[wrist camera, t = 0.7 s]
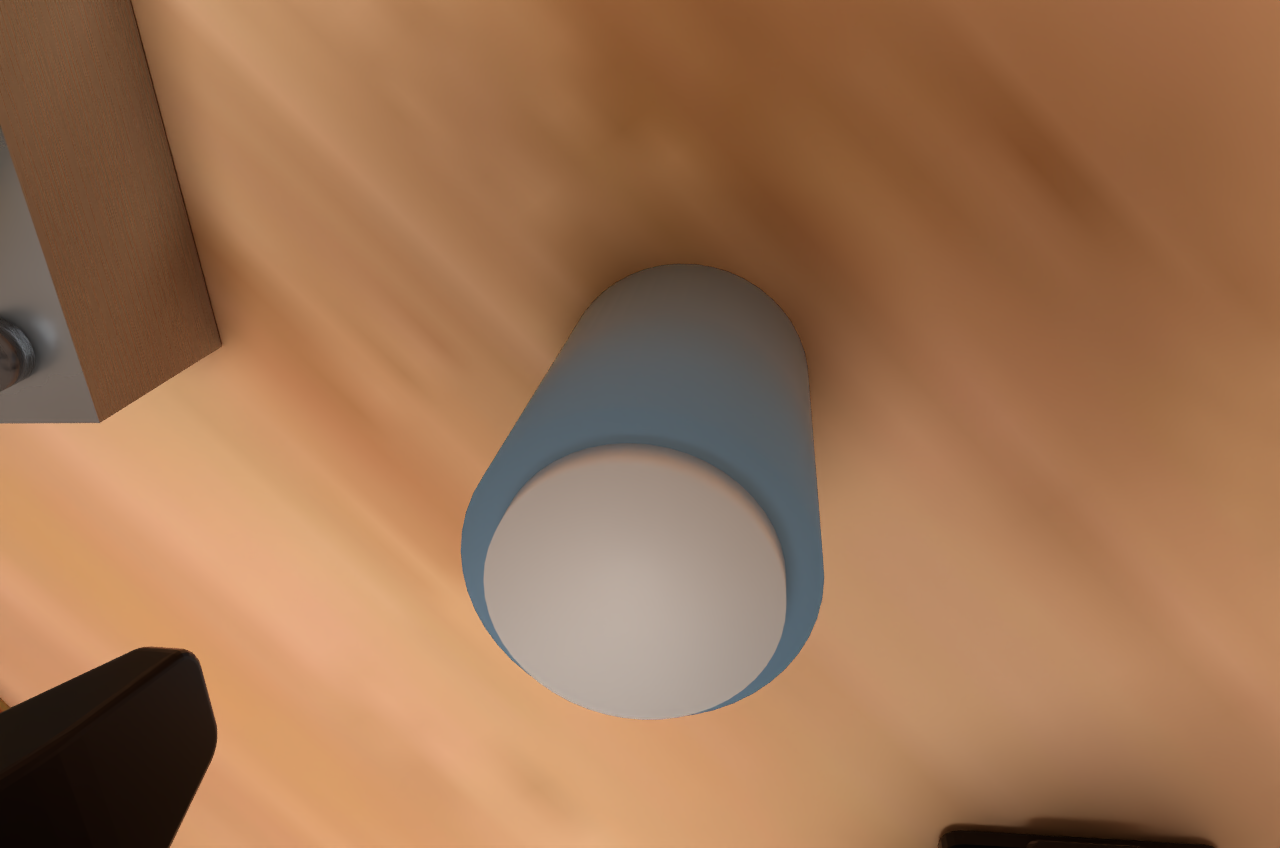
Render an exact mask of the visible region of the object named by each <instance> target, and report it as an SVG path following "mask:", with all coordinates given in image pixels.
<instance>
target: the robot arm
mask: <svg viewBox="0 0 1280 848" xmlns="http://www.w3.org/2000/svg"><path fill="white" fill-rule="evenodd" d="M216 743H217V725H216V721H215V717H214V713H213V709H212V706H211V702H210V698H209V695H208V691H207V687H206V683H205V680H204V676H203V672H202V668H201V665H200V662H199V660H198V659H197V657H196V656H195V655H194V654H193V653H192V652H190V651H188V650H185V649H177V648H163V647H142V648H138V649H135V650H133V651H131V652H129V653H127V654H124V655H122V656H120V657H118V658H116V659H114V660H112V661H110V662H107V663H105V664H103V665H101V666H99V667H97V668H95V669H92V670H90V671H88V672H86V673H84V674H82V675H80V676H78V677H75V678H73V679H71V680H69V681H67V682H65V683H63V684H61V685H58V686H56V687H54V688H52V689H50V690H48V691H46V692H43V693H41V694H39V695H37V696H35V697H33V698H31V699H29V700H26V701H24V702H22V703H20V704H18V705H16V706H14V707H11V708H9V709H7V710H5V711H3V712H1V713H0V848H170V846H171V844H172V842H173V840H174V838H175V836H176V833H177V831H178V829H179V827H180V825H181V823H182V821H183V819H184V817H185V815H186V813H187V811H188V808H189V806H190V804H191V802H192V800H193V798H194V796H195V794H196V792H197V790H198V788H199V786H200V784H201V781H202V779H203V777H204V775H205V773H206V771H207V769H208V767H209V765H210V763H211V760H212V758H213V755H214V752H215V748H216ZM938 848H1214V847H1212V846H1207V845H1197V844H1180V843H1163V842H1146V841H1129V840H1112V839H1095V838H1078V837H1061V836H1043V835H1026V834H1009V833H992V832H975V831H952V832H950V833H947V834H945V835H944V836H943V837H942V838H941V839H940V841H939V844H938Z"/></svg>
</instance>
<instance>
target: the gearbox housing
mask: <svg viewBox="0 0 1280 848" xmlns="http://www.w3.org/2000/svg"><path fill="white" fill-rule="evenodd" d="M220 347H221V342H220V339H219V335H218V331H217V327H216V324H215V320H214V316H213V312H212V308H211V305H210V301H209V297H208V293H207V290H206V286H205V282H204V278H203V274H202V271H201V267H200V263H199V259H198V256H197V252H196V248H195V244H194V241H193V237H192V233H191V229H190V225H189V222H188V218H187V214H186V210H185V207H184V203H183V199H182V195H181V192H180V188H179V184H178V180H177V176H176V173H175V169H174V165H173V161H172V158H171V154H170V150H169V146H168V143H167V139H166V135H165V131H164V127H163V124H162V120H161V116H160V112H159V109H158V105H157V101H156V97H155V93H154V90H153V86H152V82H151V78H150V75H149V71H148V67H147V63H146V60H145V56H144V52H143V48H142V44H141V41H140V37H139V33H138V29H137V26H136V22H135V18H134V14H133V11H132V7H131V3H130V0H0V423H100V422H102V421H103V420H105V419H107V418H108V417H110V416H111V415H113V414H115V413H116V412H118V411H119V410H121V409H123V408H124V407H126V406H127V405H129V404H131V403H132V402H134V401H135V400H137V399H139V398H140V397H142V396H143V395H145V394H146V393H148V392H150V391H151V390H153V389H154V388H156V387H158V386H159V385H161V384H162V383H164V382H166V381H167V380H169V379H170V378H172V377H174V376H175V375H177V374H178V373H180V372H182V371H183V370H185V369H186V368H188V367H189V366H191V365H193V364H194V363H196V362H197V361H199V360H201V359H202V358H204V357H205V356H207V355H209V354H210V353H212V352H213V351H215V350H217V349H218V348H220Z"/></svg>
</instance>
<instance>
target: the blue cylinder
mask: <svg viewBox="0 0 1280 848" xmlns="http://www.w3.org/2000/svg"><path fill="white" fill-rule="evenodd" d="M461 558H462V568H463V574H464V578H465V582H466V587H467V591H468V593H469V596H470V598H471V601H472V603H473V606H474V608H475V611H476V612H477V614H478V616H479V618H480V620H481V621H482V623H483V625H484V627H485V628H486V630H487V631H488V632H489V634H490V635H491V636H492V638H493V639H494V641H495V642H496V643H497V645H498V646H499V647H500V648H501V649H502V650H503V651H504V652H505V653H506V654H507V655H508V656H509V658H510V659H511V660H512V661H514V662H515V663H516V664H517V665H518V666H519V667H521V668H522V669H523V670H524V671H525V672H526V673H528V674H529V675H530V676H532V677H533V678H534V679H535V680H537V681H538V682H539V683H540V684H542V685H543V686H545V687H546V688H548V689H549V690H551V691H552V692H553V693H555V694H557V695H559V696H561V697H563V698H564V699H566V700H568V701H570V702H572V703H575V704H577V705H579V706H582V707H584V708H587V709H590V710H593V711H596V712H599V713H603V714H607V715H612V716H617V717H622V718H631V719H641V720H651V719H668V718H677V717H682V716H687V715H694V714H699V713H703V712H708V711H712V710H715V709H718V708H721V707H724V706H727V705H730V704H733V703H735V702H737V701H739V700H741V699H743V698H745V697H747V696H749V695H751V694H753V693H755V692H756V691H758V690H759V689H761V688H762V687H764V686H765V685H767V684H768V683H770V682H771V681H772V680H773V679H774V678H775V677H777V676H778V675H779V674H780V673H781V672H782V671H783V670H785V669H786V667H787V666H788V665H789V664H790V663H791V662H792V660H793V659H794V658H795V657H796V656H797V655H798V653H799V652H800V650H801V649H802V647H803V646H804V644H805V642H806V641H807V639H808V638H809V636H810V633H811V631H812V629H813V627H814V624H815V622H816V620H817V617H818V613H819V609H820V605H821V601H822V595H823V585H824V569H823V554H822V541H821V529H820V516H819V503H818V491H817V478H816V466H815V453H814V440H813V428H812V415H811V402H810V390H809V377H808V366H807V361H806V356H805V352H804V349H803V346H802V343H801V341H800V338H799V336H798V334H797V332H796V330H795V328H794V326H793V324H792V323H791V321H790V320H789V318H788V317H787V316H786V314H785V313H784V311H783V310H782V309H781V308H780V307H779V306H778V305H777V304H776V303H775V302H774V301H773V299H772V298H770V297H769V296H768V295H767V294H766V293H764V292H763V291H762V290H761V289H759V288H758V287H756V286H755V285H753V284H752V283H750V282H748V281H747V280H745V279H743V278H741V277H739V276H736V275H734V274H732V273H730V272H727V271H724V270H720V269H717V268H714V267H709V266H703V265H696V264H671V265H661V266H657V267H653V268H648V269H645V270H642V271H639V272H637V273H634V274H631V275H629V276H627V277H626V278H624V279H622V280H620V281H618V282H616V283H615V284H614V285H612V286H611V287H609V288H608V289H607V290H605V291H604V292H603V293H602V294H601V295H600V296H599V297H598V298H597V299H596V300H594V301H593V302H592V304H591V305H590V306H589V307H588V309H587V310H586V311H585V313H584V314H583V315H582V317H581V319H580V320H579V322H578V323H577V325H576V327H575V328H574V330H573V332H572V333H571V335H570V336H569V338H568V340H567V341H566V343H565V344H564V346H563V348H562V349H561V351H560V353H559V354H558V356H557V357H556V359H555V361H554V362H553V364H552V366H551V367H550V369H549V370H548V372H547V374H546V375H545V377H544V379H543V380H542V382H541V383H540V385H539V387H538V388H537V390H536V391H535V393H534V395H533V396H532V398H531V400H530V401H529V403H528V404H527V406H526V408H525V409H524V411H523V413H522V414H521V416H520V417H519V419H518V421H517V422H516V424H515V426H514V427H513V429H512V430H511V432H510V434H509V435H508V437H507V438H506V440H505V442H504V443H503V445H502V447H501V448H500V450H499V451H498V453H497V455H496V456H495V458H494V460H493V461H492V463H491V464H490V466H489V468H488V469H487V471H486V472H485V474H484V476H483V477H482V479H481V481H480V483H479V484H478V486H477V488H476V490H475V491H474V493H473V496H472V498H471V501H470V503H469V506H468V509H467V511H466V515H465V520H464V525H463V529H462V540H461Z"/></svg>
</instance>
